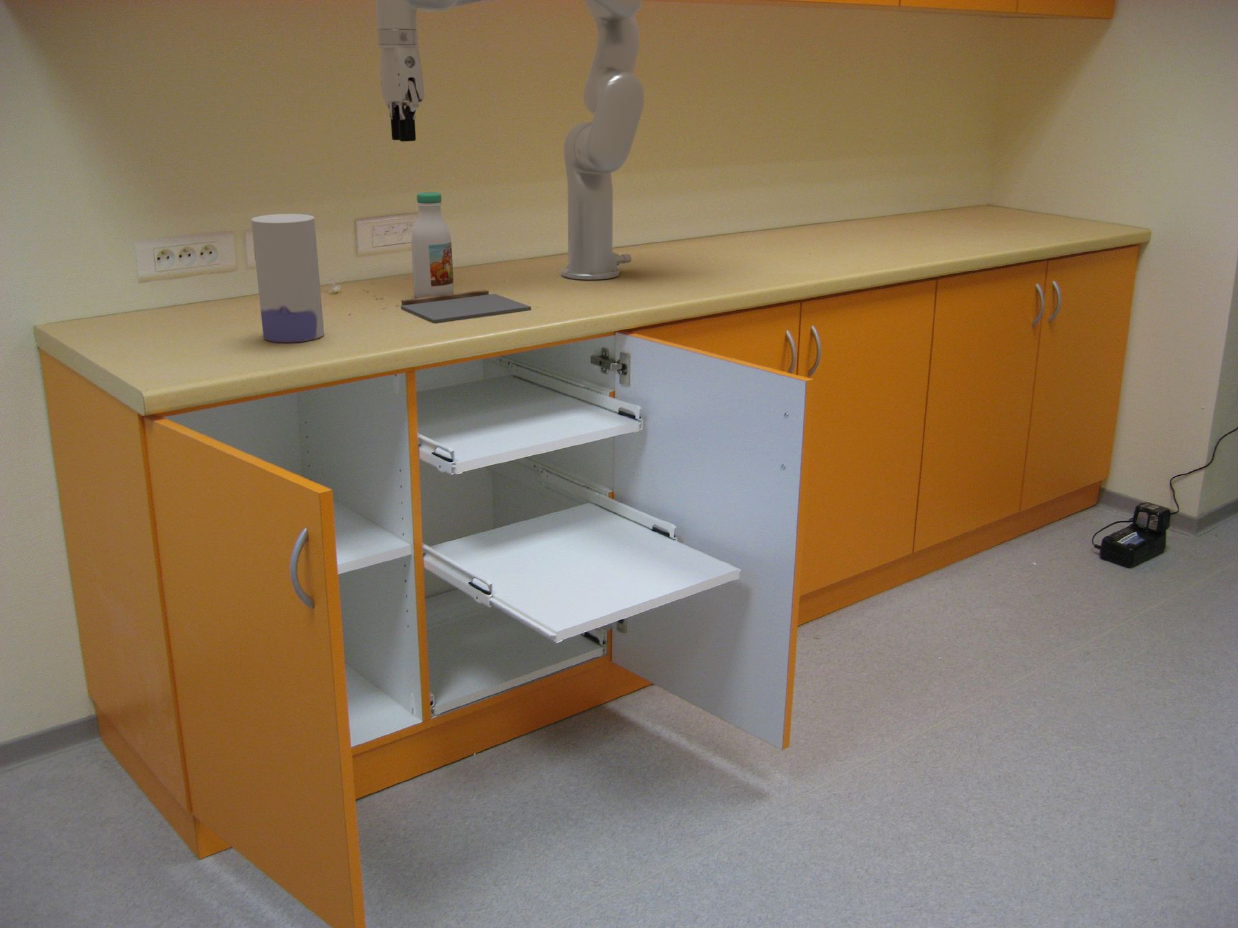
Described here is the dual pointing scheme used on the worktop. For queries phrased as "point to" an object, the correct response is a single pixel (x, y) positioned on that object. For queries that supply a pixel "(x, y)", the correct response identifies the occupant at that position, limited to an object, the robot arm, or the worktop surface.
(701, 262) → the worktop surface
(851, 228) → the worktop surface
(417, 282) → the milk bottle
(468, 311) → the mat
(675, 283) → the worktop surface
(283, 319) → the container
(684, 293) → the worktop surface
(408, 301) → the rail
